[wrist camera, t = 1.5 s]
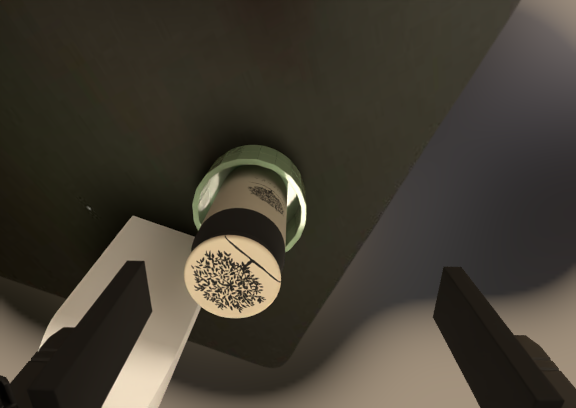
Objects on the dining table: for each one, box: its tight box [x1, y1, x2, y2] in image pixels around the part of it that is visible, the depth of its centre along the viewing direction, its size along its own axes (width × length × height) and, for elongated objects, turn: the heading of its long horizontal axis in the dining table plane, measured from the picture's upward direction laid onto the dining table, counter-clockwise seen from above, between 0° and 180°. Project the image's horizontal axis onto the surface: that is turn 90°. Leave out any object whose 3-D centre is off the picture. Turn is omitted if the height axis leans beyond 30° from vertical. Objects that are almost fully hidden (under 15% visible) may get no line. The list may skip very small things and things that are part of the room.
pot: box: [192, 145, 306, 252], centre depth 42 cm, size 12×12×6 cm
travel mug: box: [184, 165, 287, 318], centre depth 36 cm, size 8×8×18 cm
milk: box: [38, 216, 201, 408], centre depth 37 cm, size 12×12×26 cm
